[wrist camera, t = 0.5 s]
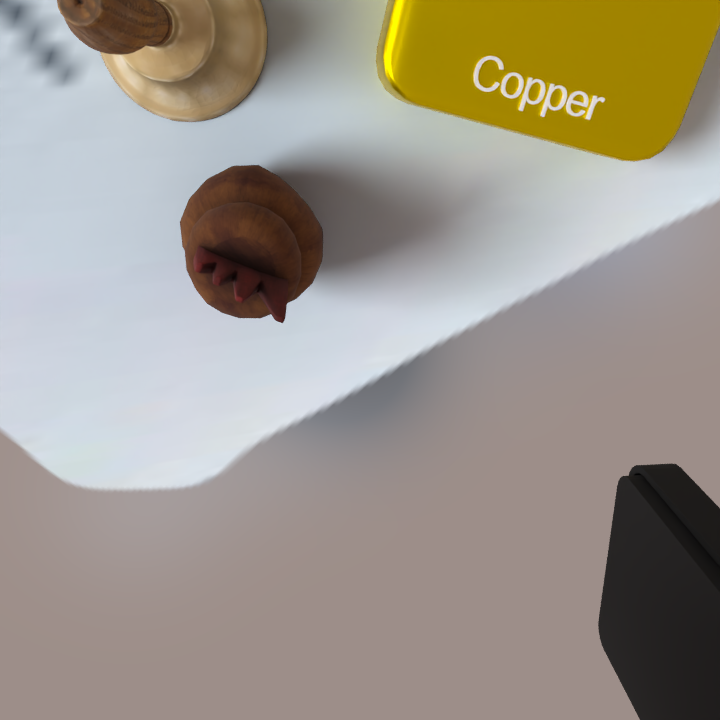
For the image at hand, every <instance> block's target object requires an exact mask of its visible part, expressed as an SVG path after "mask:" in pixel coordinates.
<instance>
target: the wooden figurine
mask: <svg viewBox="0 0 720 720" xmlns="http://www.w3.org/2000/svg"><path fill="white" fill-rule="evenodd" d="M180 226H181V236H182V245H183V248H184V250H185V257H186V267H187V271H188V273H189V276H190V278H191V280H192V282H193V284H194V286H195V288H196V290H197V291H198V293H199V294H200V295H201V296H202V298H203V299H204V300H205V302H206V303H207V304H209V305H210V306H212V307H214V308H215V309H217V310H219V311H220V312H222V313H225V314H228V315H231V316H235V317H238V318H262V317H265V316H267V315H270V314H272V316H273V318H274V319H275V320H276V321H278V322H281V323H283V322H284V319H285V314H286V305H287V303H288V302H290V301H293V300H295V299H297V298H298V297H299V296H300V295H301V294H302V293H303V292H304V291H305V290H306V289H307V288H308V287H309V286H310V285H311V284H312V283H313V281H314V278H315V276H316V274H317V271H318V269H319V267H320V264H321V262H322V257H323V231H322V228H321V226H320V224H319V222H318V221H317V219H316V217H315V215H314V214H313V212H312V210H311V209H310V207H309V206H308V205H307V204H306V203H305V201H304V200H303V199H302V198H301V197H300V196H299V195H298V193H297V192H296V191H295V190H294V189H293V188H291V187H290V186H289V185H288V184H287V183H286V182H285V181H283V180H282V179H281V178H280V177H278V176H277V175H275V174H273V173H271V172H270V171H268V170H266V169H264V168H262V167H261V166H259V165H249V166H232V167H230V168H228V169H226V170H224V171H222V172H220V173H218V174H216V175H214V176H212V177H210V178H209V179H207V180H206V181H205V182H204V183H203V184H202V185H201V186H200V188H199V189H198V190H197V191H196V192H195V193H194V194H193V195H192V196H191V198H190V199H189V201H188V203H187V206H186V208H185V211H184V213H183V216H182V218H181V221H180Z"/></svg>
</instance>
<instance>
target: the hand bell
mask: <svg viewBox="0 0 720 720" xmlns="http://www.w3.org/2000/svg"><path fill="white" fill-rule="evenodd" d="M57 3H58V8H59V10H60V12H61V14H62V15H63V16H64V18H65V21H66V23H67V24H68V26H69V28H70V30H71V31H72V32H73V33H74V34H75V35H76V36H77V37H78V38H79V39H80V40H81V41H82V42H83V43H85V44H86V45H87V46H89V47H91V48H93V49H95V50H97V51H100V53H101V55H102V58H103V61H104V63H105V65H106V67H107V69H108V70H109V72H110V74H111V76H112V77H113V79H114V80H115V82H116V83H117V84H118V86H119V87H120V88H121V89H122V90H123V91H124V92H125V93H126V94H127V95H128V96H129V97H130V98H131V99H132V100H133V101H134V102H136V103H137V104H138V105H140V106H141V107H143V108H144V109H146V110H148V111H150V112H152V113H153V114H156V115H158V116H161V117H164V118H167V119H170V120H174V121H185V122H196V121H203V120H208V119H212V118H215V117H218V116H220V115H222V114H224V113H226V112H228V111H230V110H231V109H233V108H234V107H235V106H237V105H238V104H239V103H240V102H241V101H242V100H243V99H244V98H245V97H246V96H247V95H248V94H249V92H250V91H251V89H252V88H253V87H254V85H255V83H256V81H257V80H258V77H259V75H260V73H261V71H262V68H263V64H264V60H265V56H266V49H267V25H266V20H265V15H264V10H263V7H262V4H261V1H260V0H57Z"/></svg>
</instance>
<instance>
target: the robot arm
mask: <svg viewBox="0 0 720 720" xmlns="http://www.w3.org/2000/svg"><path fill="white" fill-rule="evenodd" d="M598 626H599V635H600V639H601V643H602V646H603V648H604V651H605V652H606V654H607V656H608V658H609V660H610V662H611V664H612V666H613V668H614V670H615V672H616V674H617V676H618V678H619V680H620V682H621V684H622V686H623V687H624V689H625V691H626V693H627V695H628V697H629V699H630V701H631V703H632V705H633V707H634V709H635V711H636V713H637V715H638V717H639V718H640V720H720V508H719V507H718V506H717V505H716V504H715V503H714V502H713V501H712V500H711V499H710V498H709V497H708V496H707V495H706V494H705V492H704V491H702V490H701V488H700V487H699V486H698V485H697V484H696V483H695V482H694V481H693V480H692V479H691V478H690V477H689V476H688V475H687V474H686V473H685V472H684V471H683V470H682V468H680V467H679V466H678V465H676V464H658V465H657V464H656V465H636V466H634V467H633V468H632V469H631V471H630V473H629V476H623V477H621V478H620V480H619V482H618V486H617V492H616V499H615V507H614V514H613V521H612V528H611V535H610V543H609V550H608V557H607V564H606V572H605V578H604V586H603V593H602V601H601V607H600V614H599V625H598Z"/></svg>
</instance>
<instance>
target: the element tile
mask: <svg viewBox="0 0 720 720" xmlns="http://www.w3.org/2000/svg"><path fill="white" fill-rule="evenodd" d="M719 26H720V0H388V4H387V8H386V12H385V17H384V21H383V25H382V29H381V33H380V38H379V42H378V46H377V55H376V64H377V71H378V77H379V79H380V81H381V83H382V84H383V86H384V88H385V89H386V90H387V91H388V92H389V93H390V94H392V95H393V96H394V97H395V98H396V99H399V100H401V101H403V102H405V103H408V104H411V105H415V106H418V107H422V108H426V109H429V110H433V111H437V112H441V113H444V114H448V115H452V116H455V117H459V118H463V119H467V120H470V121H474V122H478V123H481V124H485V125H489V126H492V127H496V128H500V129H504V130H507V131H511V132H515V133H518V134H522V135H526V136H530V137H533V138H537V139H541V140H544V141H548V142H552V143H556V144H559V145H563V146H567V147H570V148H574V149H578V150H581V151H585V152H589V153H593V154H596V155H601V156H605V157H609V158H614V159H618V160H622V161H639V160H645V159H650V158H651V157H653V156H655V155H656V154H658V153H660V152H662V151H663V150H664V149H665V148H666V146H667V145H668V144H669V143H670V142H671V141H672V139H673V138H674V136H675V135H676V133H677V131H678V129H679V128H680V125H681V123H682V120H683V118H684V115H685V113H686V110H687V107H688V105H689V102H690V100H691V97H692V95H693V92H694V90H695V87H696V84H697V82H698V79H699V77H700V74H701V72H702V69H703V67H704V64H705V61H706V59H707V56H708V54H709V51H710V49H711V46H712V44H713V41H714V38H715V36H716V33H717V31H718V28H719Z"/></svg>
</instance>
